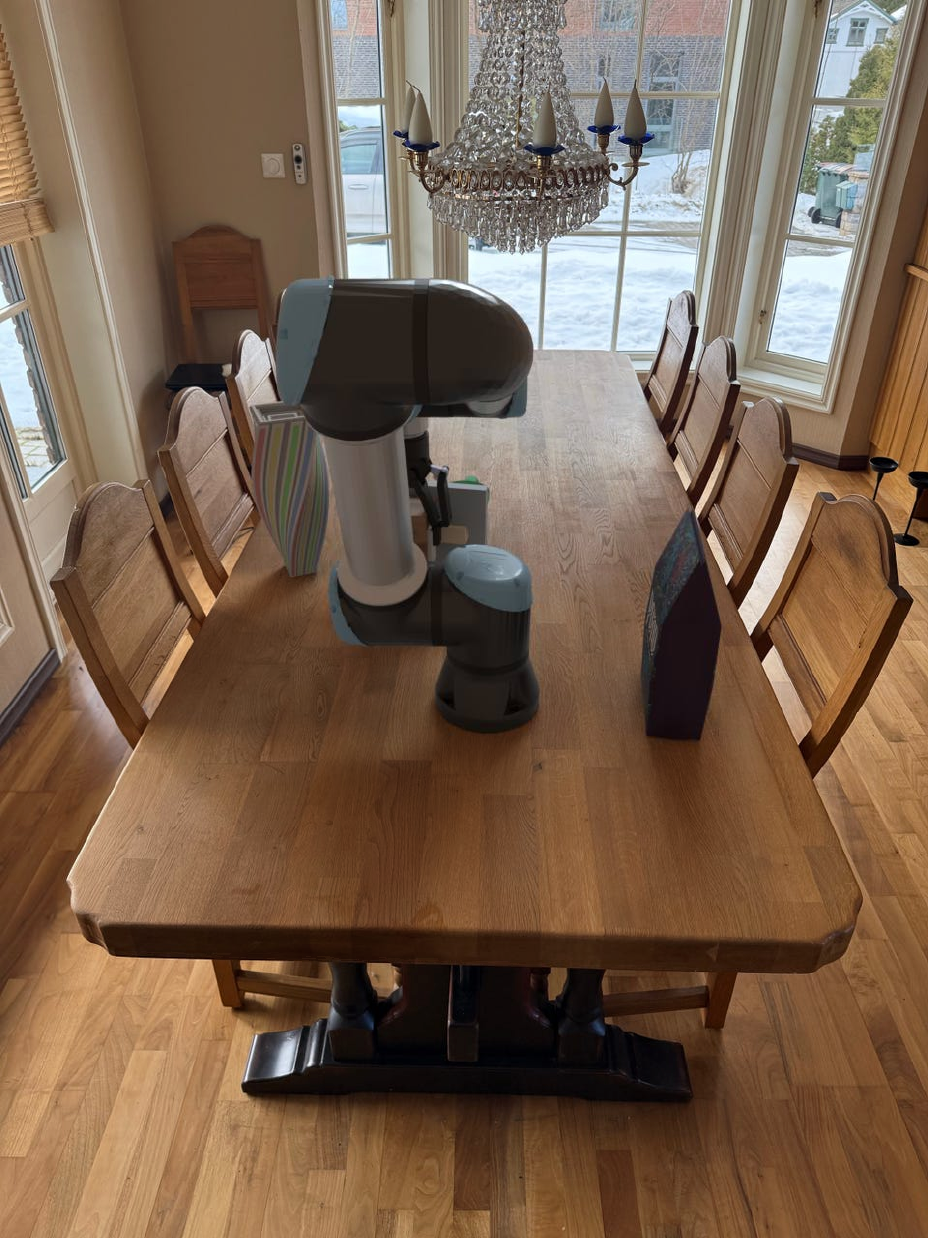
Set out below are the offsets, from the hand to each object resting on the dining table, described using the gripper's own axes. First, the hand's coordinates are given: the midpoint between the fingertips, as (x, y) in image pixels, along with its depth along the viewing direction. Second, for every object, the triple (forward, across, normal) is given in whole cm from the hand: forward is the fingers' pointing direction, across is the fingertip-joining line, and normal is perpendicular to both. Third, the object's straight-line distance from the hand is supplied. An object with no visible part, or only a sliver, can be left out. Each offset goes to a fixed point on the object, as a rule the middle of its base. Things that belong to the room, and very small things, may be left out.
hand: (409, 558), depth 149 cm
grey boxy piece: (+7, 0, -8) cm, 11 cm away
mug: (+7, -5, -25) cm, 26 cm away
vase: (+7, +22, -5) cm, 24 cm away
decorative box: (+7, -44, +23) cm, 50 cm away
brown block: (+1, 0, -1) cm, 1 cm away
